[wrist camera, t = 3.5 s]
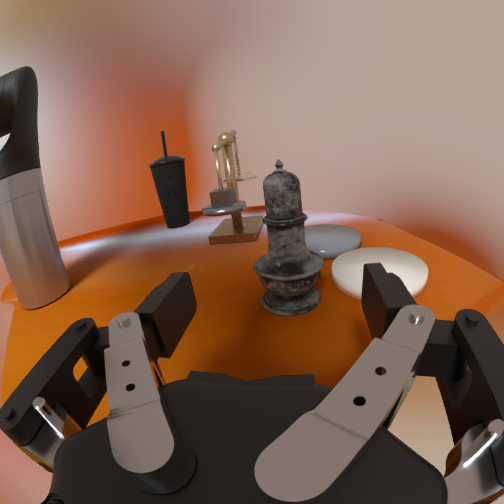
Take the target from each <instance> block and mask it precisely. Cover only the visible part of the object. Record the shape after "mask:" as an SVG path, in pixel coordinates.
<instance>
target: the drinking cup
mask: <svg viewBox="0 0 504 504" xmlns="http://www.w3.org/2000/svg"><path fill="white" fill-rule="evenodd" d="M161 136H162V143H163V150H164V156H162V157H160V158H158V159H156V160H155V161H154V162H153V163H152V164H150V165H149V167H150V168H151V172H152V175H153V179H154V183H155V186H156V190H157V193H158V197H159V200H160V203H161V207H162V210H163V214H164V217H165V220H166V224H167V227H168V228H177V227H182V226H185V225H187V224H189V222H190V221H189V211H188V201H187V190H186V178H185V164H184V160H185V157H184V158H183V157H181V156H178V155H167V148H166V142H165V134H164V131H162V132H161Z"/></svg>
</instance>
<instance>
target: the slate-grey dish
mask: <svg viewBox="0 0 504 504" xmlns="http://www.w3.org/2000/svg"><path fill="white" fill-rule="evenodd" d="M304 229H305V242H306V245H307V248H308V250H309V251H313V252H315V253H317V254H319V255H320V256H321V257H322V258H323V260H328V259H336V258H337V257H338V256H339V255H341V254H343V253H345V252H348V251H350V250H354V249H359V248H360V247H361V234H360V233H359V232H358V231H357V230H355V229H353V228H350V227H346V226H341V225H329V224H325V225H312V226H306V227H304Z"/></svg>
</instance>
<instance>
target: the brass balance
mask: <svg viewBox="0 0 504 504" xmlns="http://www.w3.org/2000/svg"><path fill="white" fill-rule="evenodd" d="M235 135H236V131H234V130H232V131H231V132H230V133H228V132H224V133H222V134H220V135H219V137H218V142H217V143H216V144H215V145H213V146H212V151H213V152H214V156H215V163H216V170H217V177H218V183H219V189H215V190H213V191H211V192H210V199H211V205H208V206H206V207H204V208H203V209H202V211H203V215H204V216H222V215H228V214H231V216H232V218H229V219H224V220H223V221H222V223H221V224H220V225H219V226H218V227H217V228H216V229H215V230H214V231H213V232H212V234H211V235H210V236H209V242H210V244H221V243H235V242H249V241H256V239H257V237H258V234H259V232H260V229H261V227H262V224H263V222H262V219H263V216H252V217H242V216H241V211H242V210H244V209H246V203H245V201H239V194H238V187H237V181H244V180H250V179H254V178H256V173H246V174H240V167H239V160H238V153H237V145H236V137H235ZM232 143H234V151H235V158H236V165H237V173H238V175H236V173H235V166H234V159H233V151H232ZM221 148H222V155H223V162H224V169H225V175H226V177H224V178H223V182H227V188H223V185H222V178H221V172H220V165H219V158H218V151H219V150H220V149H221Z"/></svg>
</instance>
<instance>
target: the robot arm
mask: <svg viewBox="0 0 504 504" xmlns="http://www.w3.org/2000/svg"><path fill="white" fill-rule="evenodd" d="M37 106H38V87H37V79H36V75H35V73H34V71H33V69H32V68H31V67H28V66H25V67H21V68H19V69H16V70H14V71H12V72H9V73H7V74H5V75H3V76H1V77H0V137H3V136H5V135H7V134H9V133H10V136H9V138H8V140H7V142H6V144H5V145H4V147H3V148H2V149H1V151H0V251H1V254H2V257H3V260H4V263H5V266H6V269H7V272H8V274H9V277H10V280H11V282H12V285H13V287H14V290H15V292H16V295H17V297H18V299H19V302H20V304H21V306H22V308H24V309H35V308H39V307H42V306H44V305H46V304H48V303H50V302H52V301H54V300H56V299H57V298H59V297H60V296H62V295H63V294H64V293H65V292H66V291H67V290H68V289H69V287H70V286H71V282H70V279H69V276H68V274H67V271H66V268H65V265H64V262H63V259H62V255H61V252H60V249H59V246H58V242H57V239H56V235H55V232H54V229H53V225H52V221H51V217H50V212H49V209H48V204H47V199H46V194H45V190H44V184H43V179H42V173H41V169H40V168H41V167H40V159H39V143H38V129H37V108H38V107H37ZM361 299H362V308H363V311H364V314H365V317H366V320H367V324H368V327H369V330H370V333H371V337H372V342H371V343H370V344H369V346H368V347H367V348H366V350H365V351H364V352H363V353H362V355H361V356H360V357H359V359H358V360H357V361H356V362H355V364H354V365H353V366H352V367H351V369H350V370H349V371H348V372H347V373H346V375H345V376H344V377H343V378H342V379H341V381H340V382H339V383H338V384H337V385H336V386H335V388H334V389H333V388H331V387H328V386H324V385H320V384H315V383H314V374H312V375H281V376H275V377H270V378H264V379H258V380H252V381H246V380H242V379H238V378H234V377H230V376H227V375H223V374H220V373H209V372H198V371H190V373H189V375H188V378H187V379H184V380H178V381H174V382H171V383H168V384H166V382H165V379H164V377H163V374H162V371H161V368H160V365H159V363H158V361H157V360H158V358H159V357H162V358H170V357H171V355H172V354H173V352H174V350H175V348H176V346H177V345H178V343H179V341H180V339H181V338H182V336H183V334H184V332H185V330H186V329H187V327H188V325H189V323H190V322H191V320H192V318H193V316H194V315H195V313H196V308H197V304H196V298H195V294H194V290H193V286H192V282H191V278H190V275H189V274H188V273H187V272H179V273H171V274H170V276H169V277H168V278H167V279H166V280H165V281H164V282H163V283H162V284H160V285H159V286H157V287H155V288H154V289H153V291H152V292H151V293H150V295H148V296H147V297H146V300H144V301H143V302H142V303H141V304H140V305H139V306H138V308H137V309H136V310H135V311H134V312H126V313H122V314H120V315H117V316H116V317H114V318H113V319H112V320H111V321H110V323H109V326H107V327H99V328H97V326H96V324H95V322H94V320H93V319H92V318H83V319H80V320H78V321H76V322H74V323H73V324H72V325H71V326H70V327H69V328H68V329H67V330H66V331H65V332H64V333H63V334H62V335H61V336H60V338H59V339H58V340H57V341H56V342H55V343H54V344H53V345H52V346H51V347H50V349H49V350H48V351H47V352H46V353H45V354H44V355H43V357H42V358H41V359H40V360H39V361H38V362H37V364H36V365H35V366H34V367H33V368H32V369H31V371H30V372H29V373H28V374H27V375H26V377H25V378H24V379H23V380H22V382H21V383H20V384H19V385H18V387H17V388H16V389H15V390H14V392H13V393H12V394H11V396H10V397H9V398H8V399H7V401H6V402H5V403H4V405H3V406H2V407H1V409H0V428H1V430H2V431H3V432H4V433H5V434H6V435H7V436H8V437H9V438H10V439H11V440H12V441H13V443H14V444H15V445H16V446H17V447H19V448H20V449H21V450H22V451H23V452H24V453H25V454H26V455H27V456H28V457H30V458H31V459H32V460H34V461H35V462H37V463H38V464H39V465H40V466H42V467H43V468H44V469H46V470H47V471H48V472H51V473H53V477H52V483H51V488H50V491H49V494H48V496H47V498H46V499H45V500H44V501H43V502H42V503H41V504H490V503H492V502H493V501H495V500H497V499H498V498H500V497H501V496H503V495H504V345H503V343H502V341H501V340H500V338H499V337H498V335H497V334H496V332H495V331H494V329H493V328H492V326H491V325H490V323H489V322H488V320H487V319H486V318H485V316H484V315H483V314H481V313H480V312H478V311H476V310H472V309H463V310H460V311H458V312H457V314H456V316H455V319H454V321H446V320H437V319H435V315H434V313H433V312H432V311H431V310H430V309H428V308H427V307H424V306H421V305H417V303H416V302H415V300H414V299H413V297H412V295H411V294H410V292H409V291H408V290H407V288H406V286H405V285H404V283H403V281H402V280H401V278H400V277H398V276H397V275H395V274H394V273H392V272H391V273H387V272H386V270H385V268H384V267H383V265H382V264H381V263H366V264H364V267H363V281H362V296H361ZM81 356H82V358H83V360H84V362H85V363H86V365H87V367H88V368H87V369H86V371H85V372H84V374H83V375H82V376H81V378H80V379H79V381H78V382H77V380H76V379H75V377H74V375H73V368H74V366H75V364H76V363H77V362H78V360H79V359H80V358H81ZM469 368H470V369H469ZM417 375H418V376H430V377H436V381H437V383H438V387H439V390H440V393H441V396H442V400H443V403H444V406H445V410H446V414H447V417H448V421H449V425H450V429H451V433H452V437H453V442H454V448H453V449H452V450H451V451H450V452H449V454H448V456H447V459H446V471H445V475H444V477H443V476H442V474H441V473H440V472H439V470H438V469H437V468H435V467H434V466H433V465H431V464H430V463H429V462H428V461H426V460H425V459H424V458H422V457H421V456H420V455H418V454H417V453H416V452H415V451H413V450H412V449H411V448H410V447H408V446H407V445H406V444H404V443H403V442H402V441H401V440H399V439H398V438H397V437H396V436H394V435H393V434H392V433H391V432H389V431H388V428H389V427H390V425H391V423H392V421H393V419H394V418H395V416H396V414H397V412H398V410H399V408H400V407H401V405H402V403H403V401H404V399H405V397H406V396H407V394H408V392H409V390H410V388H411V386H412V384H413V382H414V379H415V378H416V376H417ZM106 392H107V393H108V401H109V408H110V414H109V415H108V416H107V417H106V418H104V419H102V420H100V421H98V422H96V423H94V424H92V425H90V426H88V427H86V426H87V424H88V422H89V421H90V419H91V417H92V415H93V414H94V412H95V410H96V408H97V407H98V405H99V403H100V402H101V400H102V398H103V397H104V395H105V393H106Z"/></svg>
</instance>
